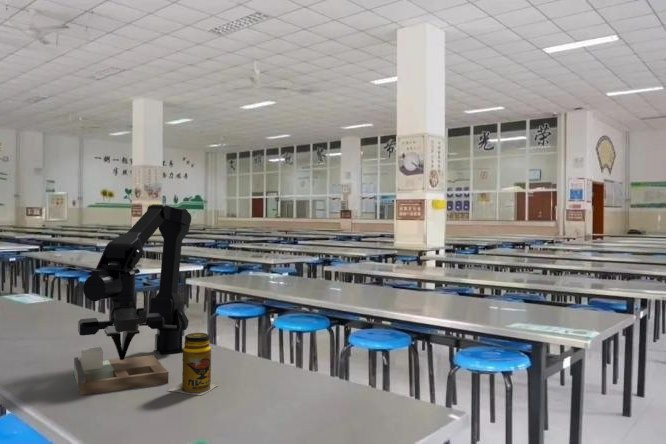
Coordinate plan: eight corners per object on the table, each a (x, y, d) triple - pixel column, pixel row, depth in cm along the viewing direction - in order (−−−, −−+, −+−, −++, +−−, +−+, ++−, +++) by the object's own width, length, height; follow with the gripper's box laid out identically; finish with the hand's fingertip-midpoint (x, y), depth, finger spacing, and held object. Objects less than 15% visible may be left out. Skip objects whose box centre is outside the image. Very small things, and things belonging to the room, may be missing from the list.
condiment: (201, 396, 115) (202, 339, 115) (167, 391, 117) (167, 336, 117) (218, 385, 122) (219, 332, 122) (185, 381, 124) (186, 329, 124)
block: (100, 363, 129) (100, 346, 129) (102, 368, 125) (103, 350, 125) (79, 365, 126) (79, 348, 126) (81, 370, 122) (81, 353, 122)
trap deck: (152, 365, 137) (153, 349, 137) (168, 383, 123) (168, 365, 123) (74, 374, 128) (74, 357, 127) (81, 395, 114) (81, 376, 114)
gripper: (82, 302, 117) (81, 374, 118) (170, 296, 126) (169, 363, 127) (77, 295, 127) (77, 361, 127) (159, 290, 136) (159, 351, 137)
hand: (121, 359), depth 129 cm, fingers closed
